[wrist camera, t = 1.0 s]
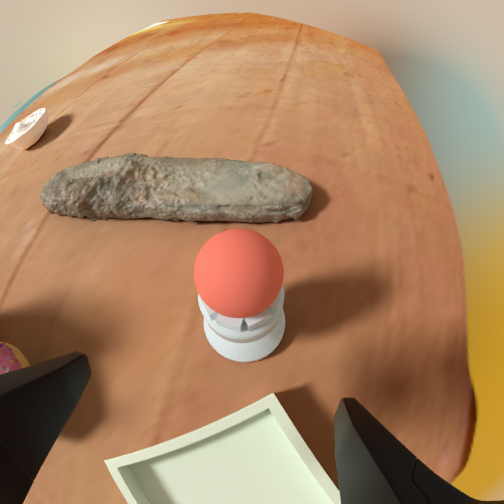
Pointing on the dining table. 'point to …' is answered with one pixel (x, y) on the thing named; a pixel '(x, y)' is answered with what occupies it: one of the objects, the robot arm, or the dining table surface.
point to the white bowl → (28, 130)
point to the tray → (228, 464)
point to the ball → (238, 273)
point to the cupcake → (11, 358)
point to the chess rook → (245, 332)
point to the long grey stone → (177, 190)
